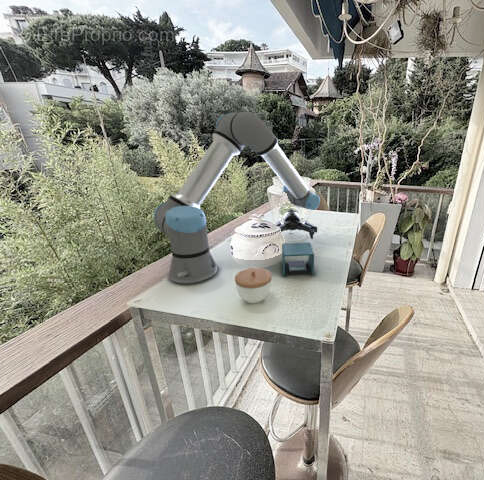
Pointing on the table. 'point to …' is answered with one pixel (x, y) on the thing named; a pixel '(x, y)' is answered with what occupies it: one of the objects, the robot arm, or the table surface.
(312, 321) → the table surface
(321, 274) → the table surface
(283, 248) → the cover
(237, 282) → the trinket box
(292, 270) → the calculator
